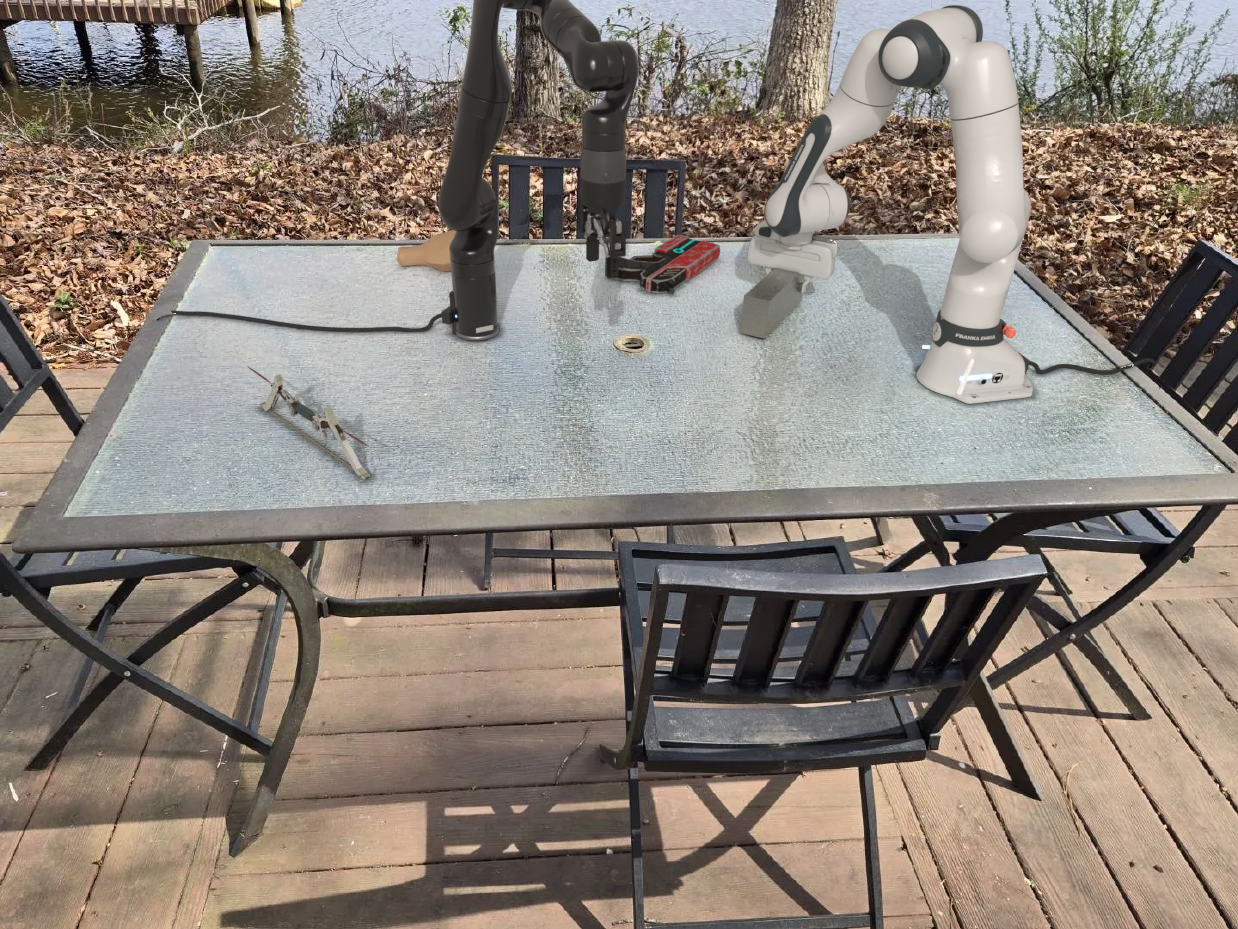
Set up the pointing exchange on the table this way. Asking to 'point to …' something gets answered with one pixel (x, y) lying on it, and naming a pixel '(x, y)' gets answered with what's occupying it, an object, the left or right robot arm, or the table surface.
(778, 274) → the bar
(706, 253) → the gun
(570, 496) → the table surface
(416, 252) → the squash
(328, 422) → the bow
